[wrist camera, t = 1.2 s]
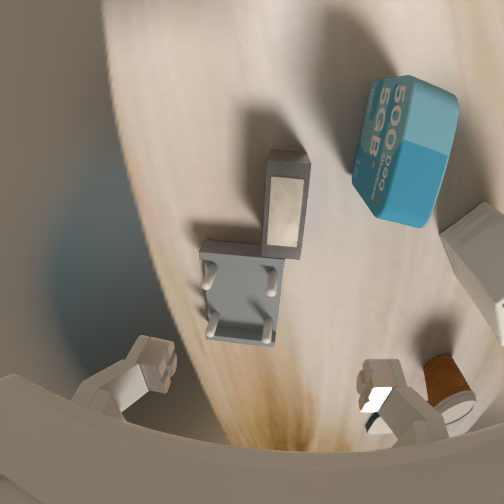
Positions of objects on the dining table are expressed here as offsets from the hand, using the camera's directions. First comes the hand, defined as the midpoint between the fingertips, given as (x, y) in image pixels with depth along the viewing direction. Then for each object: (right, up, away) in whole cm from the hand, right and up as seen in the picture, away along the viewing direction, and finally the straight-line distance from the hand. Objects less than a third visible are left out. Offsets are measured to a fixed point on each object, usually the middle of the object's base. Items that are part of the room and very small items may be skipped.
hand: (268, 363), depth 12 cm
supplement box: (+30, +6, +21) cm, 37 cm away
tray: (-2, -1, +29) cm, 29 cm away
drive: (+3, +11, +22) cm, 25 cm away
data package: (+13, +17, +17) cm, 28 cm away
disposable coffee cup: (+35, -17, +33) cm, 51 cm away
